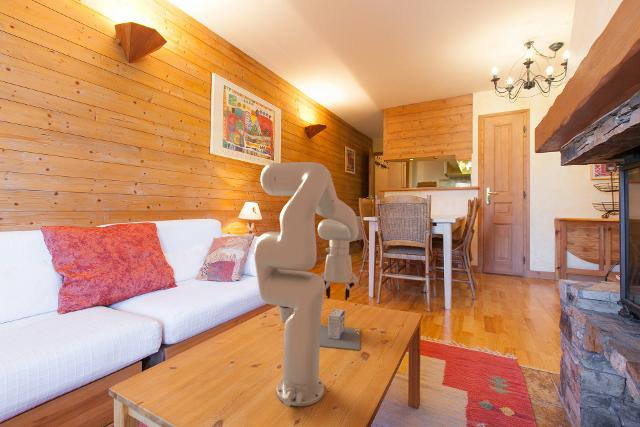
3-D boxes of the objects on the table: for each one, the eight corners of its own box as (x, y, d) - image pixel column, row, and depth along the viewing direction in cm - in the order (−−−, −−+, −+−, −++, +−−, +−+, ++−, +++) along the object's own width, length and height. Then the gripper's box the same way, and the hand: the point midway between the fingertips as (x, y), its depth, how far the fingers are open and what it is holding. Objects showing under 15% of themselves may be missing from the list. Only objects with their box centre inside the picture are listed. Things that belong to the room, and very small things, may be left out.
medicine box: (339, 340, 108) (340, 316, 108) (327, 338, 109) (328, 315, 109) (344, 331, 115) (345, 310, 115) (333, 330, 117) (334, 308, 116)
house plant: (302, 328, 118) (303, 288, 118) (268, 327, 118) (269, 287, 118) (304, 315, 132) (305, 279, 132) (274, 314, 133) (275, 278, 133)
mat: (359, 350, 101) (359, 349, 101) (297, 344, 104) (297, 343, 104) (360, 329, 119) (360, 328, 119) (307, 324, 122) (307, 323, 122)
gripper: (315, 251, 109) (313, 299, 110) (361, 254, 107) (360, 303, 107) (318, 249, 117) (316, 294, 117) (362, 251, 114) (360, 297, 114)
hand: (337, 298), depth 112 cm, fingers open, 6 cm apart
